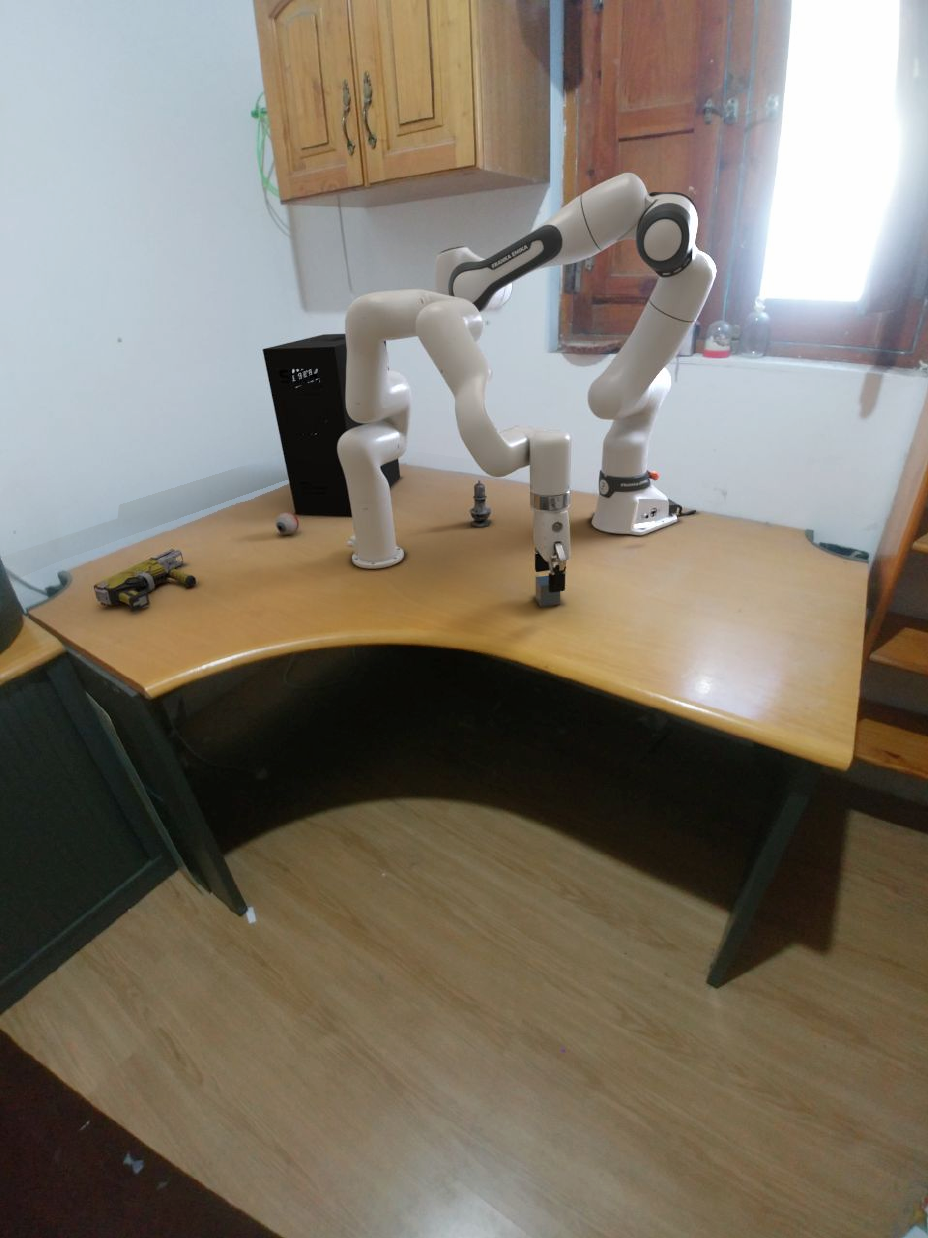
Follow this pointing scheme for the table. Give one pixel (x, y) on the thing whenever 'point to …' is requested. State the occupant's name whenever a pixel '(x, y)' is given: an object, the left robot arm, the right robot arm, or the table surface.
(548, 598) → the cube
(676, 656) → the table surface
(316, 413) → the black tall box
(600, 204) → the right robot arm
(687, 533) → the table surface
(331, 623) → the table surface
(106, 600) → the toy gun
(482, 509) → the grey chess piece
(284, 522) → the eyeball
